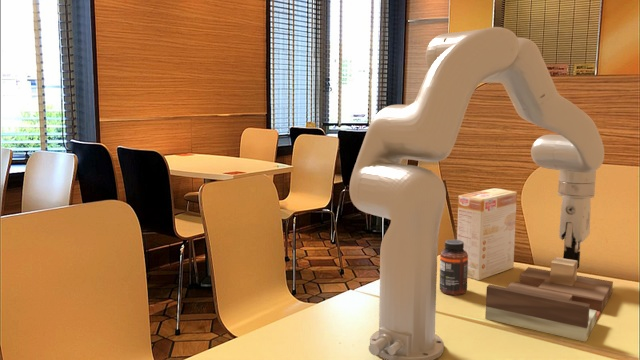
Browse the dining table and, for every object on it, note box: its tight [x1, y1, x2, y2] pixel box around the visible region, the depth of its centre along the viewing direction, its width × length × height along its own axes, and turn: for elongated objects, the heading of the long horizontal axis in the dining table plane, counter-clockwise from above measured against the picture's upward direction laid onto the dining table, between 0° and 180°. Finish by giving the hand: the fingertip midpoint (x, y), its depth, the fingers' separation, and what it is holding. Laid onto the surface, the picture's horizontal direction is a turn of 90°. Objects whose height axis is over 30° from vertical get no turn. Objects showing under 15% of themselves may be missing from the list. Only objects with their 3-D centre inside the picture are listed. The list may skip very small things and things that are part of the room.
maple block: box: [549, 257, 578, 286], centre depth 124 cm, size 4×4×4 cm
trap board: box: [484, 266, 614, 343], centre depth 117 cm, size 30×18×6 cm, turn 145°
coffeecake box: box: [456, 187, 518, 281], centre depth 138 cm, size 15×7×20 cm, turn 130°
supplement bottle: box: [439, 239, 468, 296], centre depth 125 cm, size 6×6×11 cm
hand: (570, 267), depth 130 cm, fingers closed
